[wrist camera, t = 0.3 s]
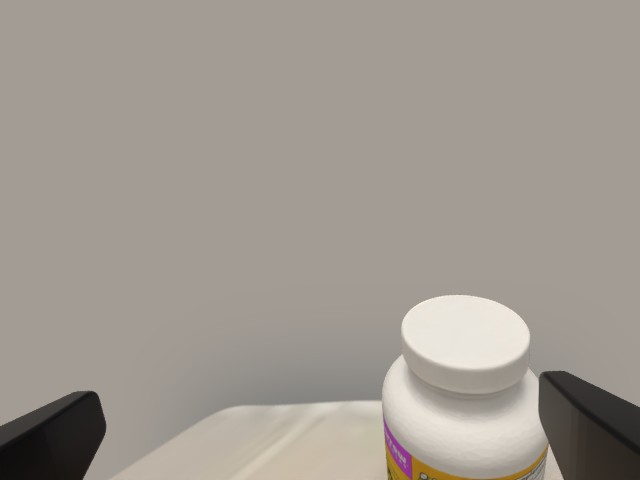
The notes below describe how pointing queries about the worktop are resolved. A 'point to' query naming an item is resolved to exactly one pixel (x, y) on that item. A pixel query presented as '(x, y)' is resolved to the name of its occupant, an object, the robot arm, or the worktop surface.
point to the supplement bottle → (463, 395)
